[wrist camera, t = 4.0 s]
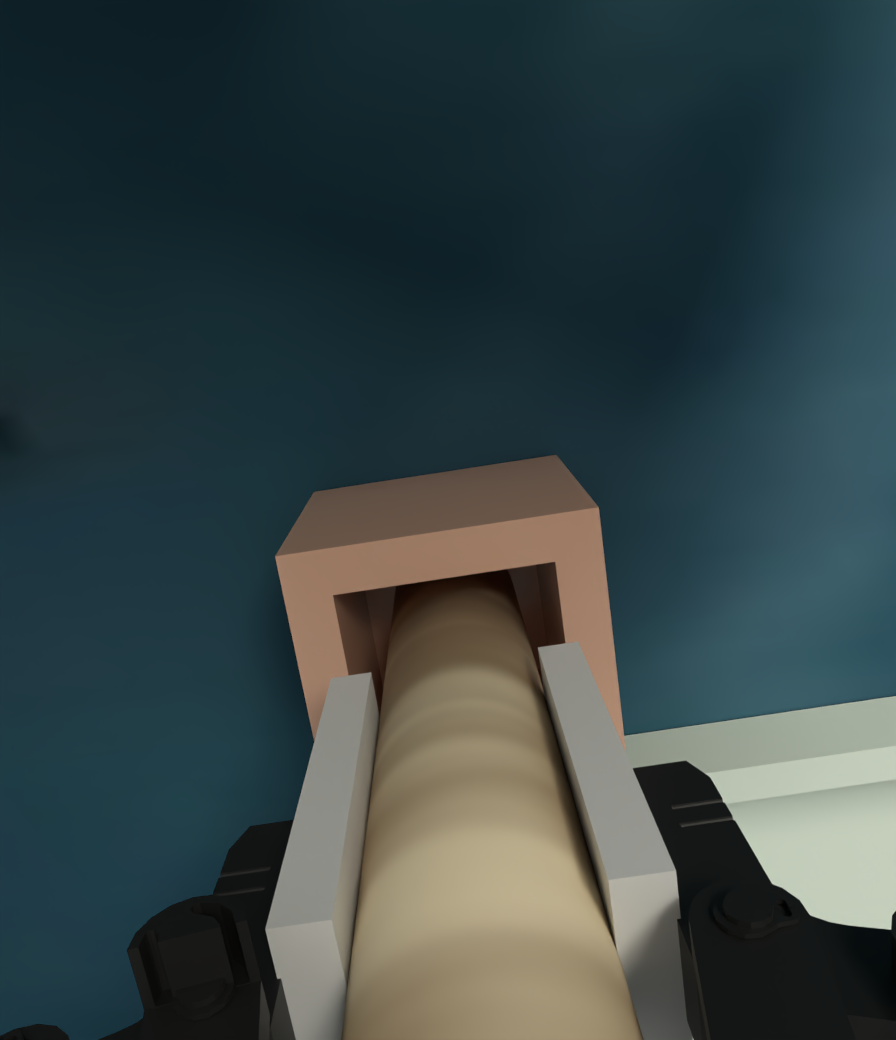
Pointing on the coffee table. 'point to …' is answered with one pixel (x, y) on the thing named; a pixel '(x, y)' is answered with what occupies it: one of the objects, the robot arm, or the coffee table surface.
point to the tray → (805, 799)
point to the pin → (475, 843)
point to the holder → (445, 566)
